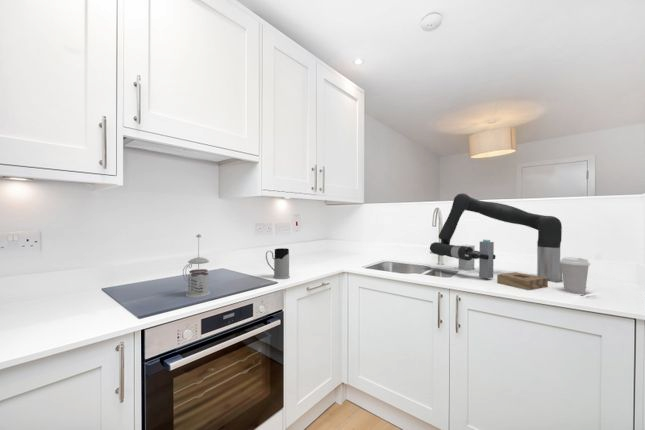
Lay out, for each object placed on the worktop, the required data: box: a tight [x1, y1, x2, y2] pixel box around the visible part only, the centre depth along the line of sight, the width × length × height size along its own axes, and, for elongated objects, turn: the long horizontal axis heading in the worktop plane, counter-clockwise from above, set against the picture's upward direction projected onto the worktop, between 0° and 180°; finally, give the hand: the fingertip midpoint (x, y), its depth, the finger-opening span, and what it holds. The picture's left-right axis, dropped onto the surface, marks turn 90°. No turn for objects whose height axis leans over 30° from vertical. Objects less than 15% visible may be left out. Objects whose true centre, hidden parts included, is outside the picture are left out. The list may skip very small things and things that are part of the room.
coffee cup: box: [560, 256, 591, 297], centre depth 118 cm, size 10×10×15 cm
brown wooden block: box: [496, 271, 549, 291], centre depth 129 cm, size 14×14×5 cm
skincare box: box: [458, 244, 476, 271], centre depth 171 cm, size 8×6×15 cm
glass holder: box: [265, 247, 291, 280], centre depth 148 cm, size 9×14×15 cm, turn 68°
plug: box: [478, 239, 495, 279], centre depth 140 cm, size 4×4×19 cm
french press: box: [182, 234, 212, 298], centre depth 116 cm, size 10×12×25 cm
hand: (491, 257), depth 138 cm, fingers closed on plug, 4 cm apart
